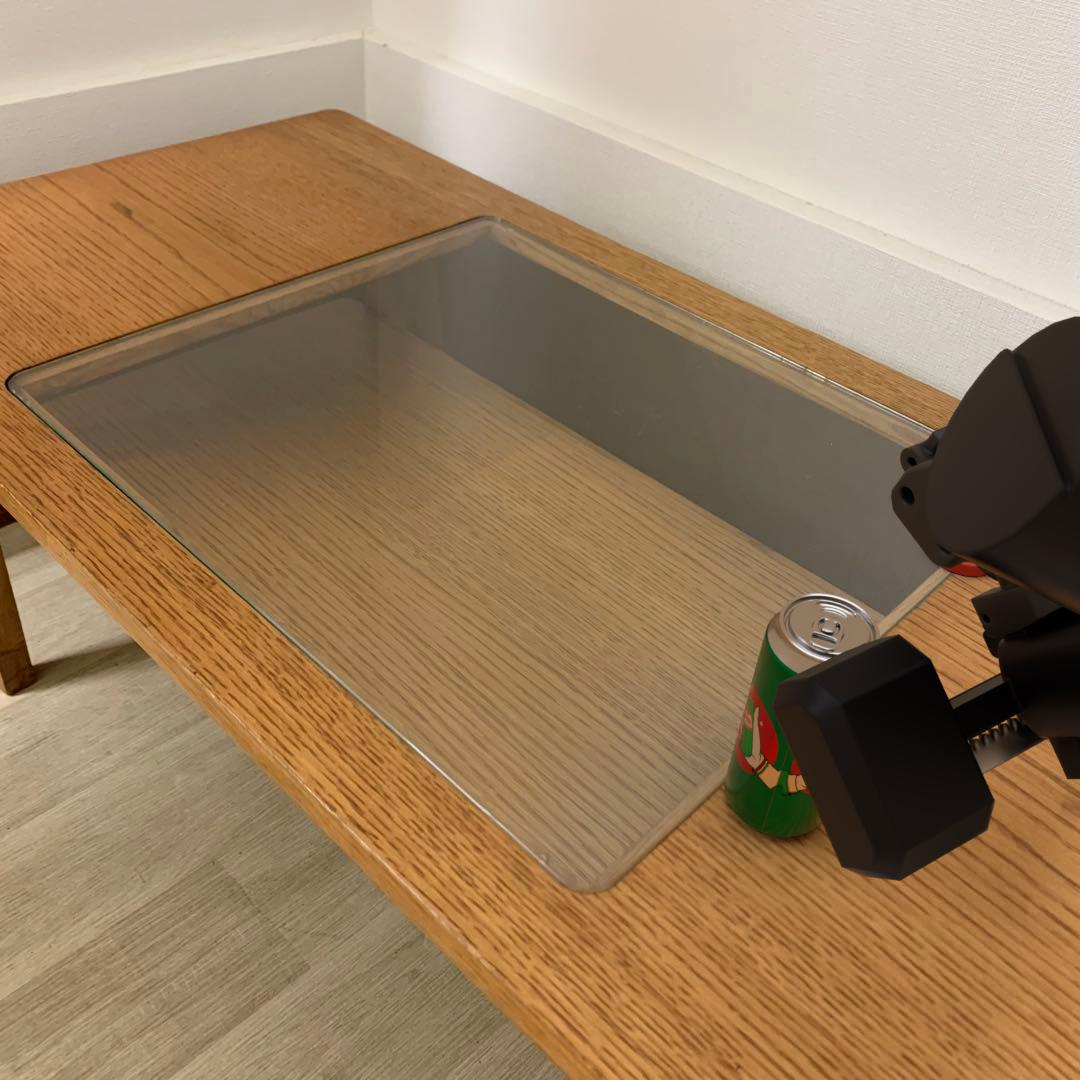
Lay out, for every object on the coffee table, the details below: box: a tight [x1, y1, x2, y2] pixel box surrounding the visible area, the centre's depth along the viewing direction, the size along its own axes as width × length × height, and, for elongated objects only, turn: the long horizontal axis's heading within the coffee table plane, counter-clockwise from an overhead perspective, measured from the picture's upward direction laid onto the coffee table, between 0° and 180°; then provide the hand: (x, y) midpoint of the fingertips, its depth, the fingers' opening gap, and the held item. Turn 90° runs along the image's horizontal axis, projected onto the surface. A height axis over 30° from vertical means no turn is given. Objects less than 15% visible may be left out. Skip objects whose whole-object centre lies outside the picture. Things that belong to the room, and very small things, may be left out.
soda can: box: [723, 592, 881, 838], centre depth 52 cm, size 5×5×12 cm
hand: (901, 687), depth 43 cm, fingers open, 9 cm apart
